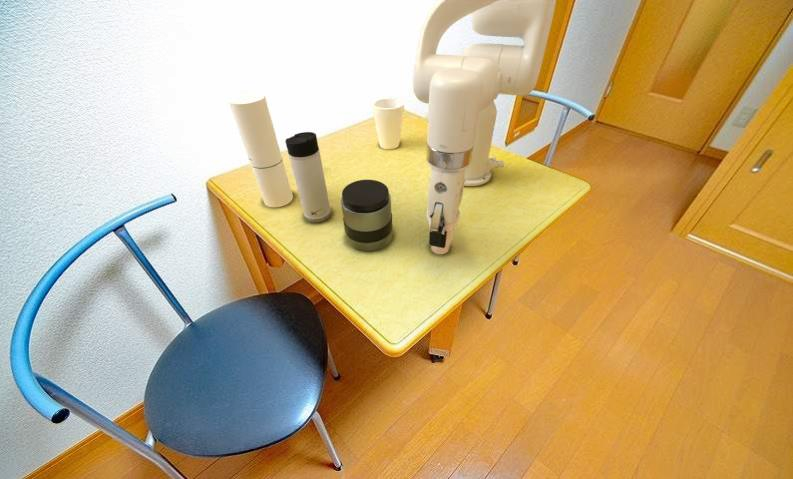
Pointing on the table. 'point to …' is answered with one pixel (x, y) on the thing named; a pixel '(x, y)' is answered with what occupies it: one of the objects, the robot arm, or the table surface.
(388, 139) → the foam cup
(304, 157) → the travel mug
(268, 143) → the cylindrical container
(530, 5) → the robot arm
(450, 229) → the smoothie
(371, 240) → the jar
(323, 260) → the table surface
